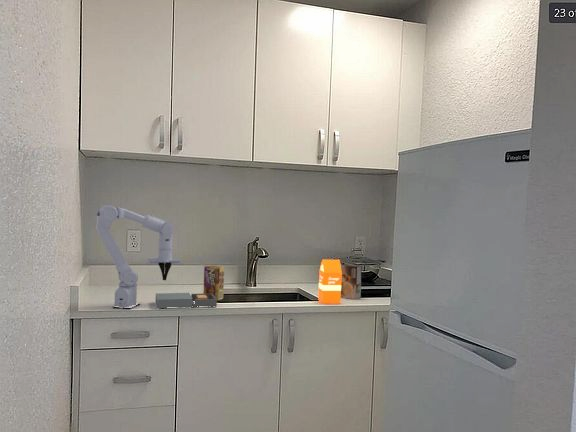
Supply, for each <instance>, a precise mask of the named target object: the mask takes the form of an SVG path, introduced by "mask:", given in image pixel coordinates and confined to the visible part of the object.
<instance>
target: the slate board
mask: <svg viewBox="0 0 576 432" xmlns="http://www.w3.org/2000/svg"><path fill="white" fill-rule="evenodd" d="M156 305H157V306H156ZM155 306H156V309H157V308H167V307H192V297H191V294H190V292H165V293H164V292H162V293H161V292H160V293H155ZM192 308H193V307H192Z"/></svg>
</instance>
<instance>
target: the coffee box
mask: <svg viewBox="0 0 576 432" xmlns="http://www.w3.org/2000/svg"><path fill="white" fill-rule="evenodd" d="M340 265H341V272H342V278H341V298H343V299H345V298H346V299H352V300H357V299H361V298H362V295H361V293H362V265H358V264H349V263H343V264H340Z"/></svg>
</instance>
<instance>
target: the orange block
mask: <svg viewBox="0 0 576 432" xmlns="http://www.w3.org/2000/svg"><path fill="white" fill-rule="evenodd" d="M196 299H208V297H207V296H206V295H196Z"/></svg>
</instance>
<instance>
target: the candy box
mask: <svg viewBox="0 0 576 432" xmlns="http://www.w3.org/2000/svg"><path fill="white" fill-rule="evenodd" d="M203 268H204V270H203V293H212V294H213V295H214V296H215V297H216V299H217V301H220V300H223V299H224V286H225V284H224V283H225V266H219V265H211V264H210V265H209V264H208V265H204V266H203Z"/></svg>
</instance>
